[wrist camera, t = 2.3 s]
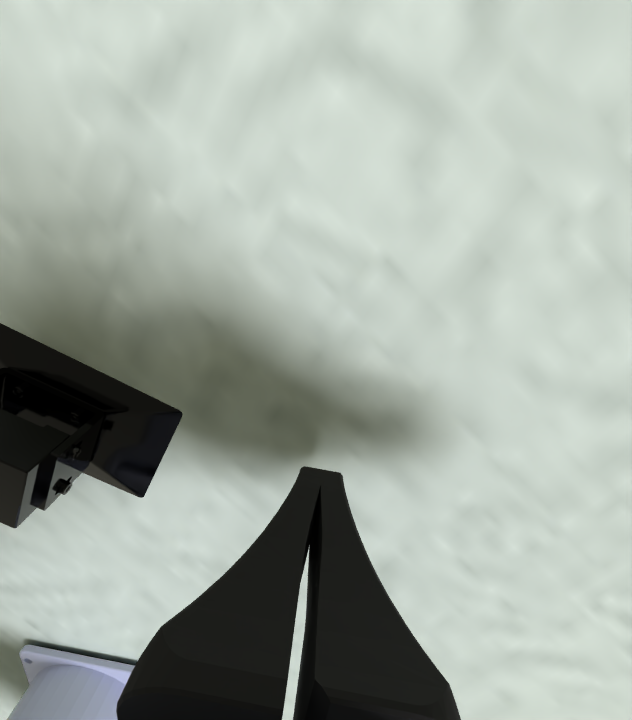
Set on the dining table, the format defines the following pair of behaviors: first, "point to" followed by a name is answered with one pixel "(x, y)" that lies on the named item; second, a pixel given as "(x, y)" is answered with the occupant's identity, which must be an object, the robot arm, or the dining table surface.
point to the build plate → (70, 428)
